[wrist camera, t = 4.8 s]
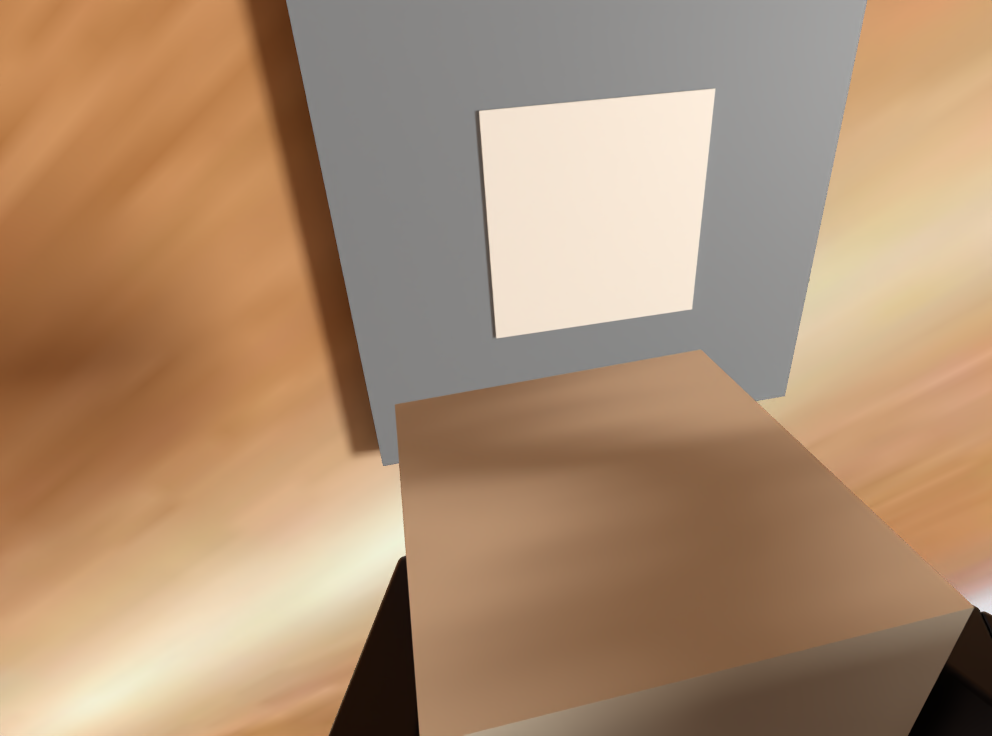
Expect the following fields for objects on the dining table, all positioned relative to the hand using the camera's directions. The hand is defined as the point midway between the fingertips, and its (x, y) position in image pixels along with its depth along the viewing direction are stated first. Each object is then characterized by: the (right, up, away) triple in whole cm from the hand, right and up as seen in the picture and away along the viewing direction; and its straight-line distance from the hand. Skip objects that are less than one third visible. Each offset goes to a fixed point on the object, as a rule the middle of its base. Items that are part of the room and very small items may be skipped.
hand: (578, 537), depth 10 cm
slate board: (+2, +8, +9) cm, 12 cm away
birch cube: (0, +1, +1) cm, 1 cm away
